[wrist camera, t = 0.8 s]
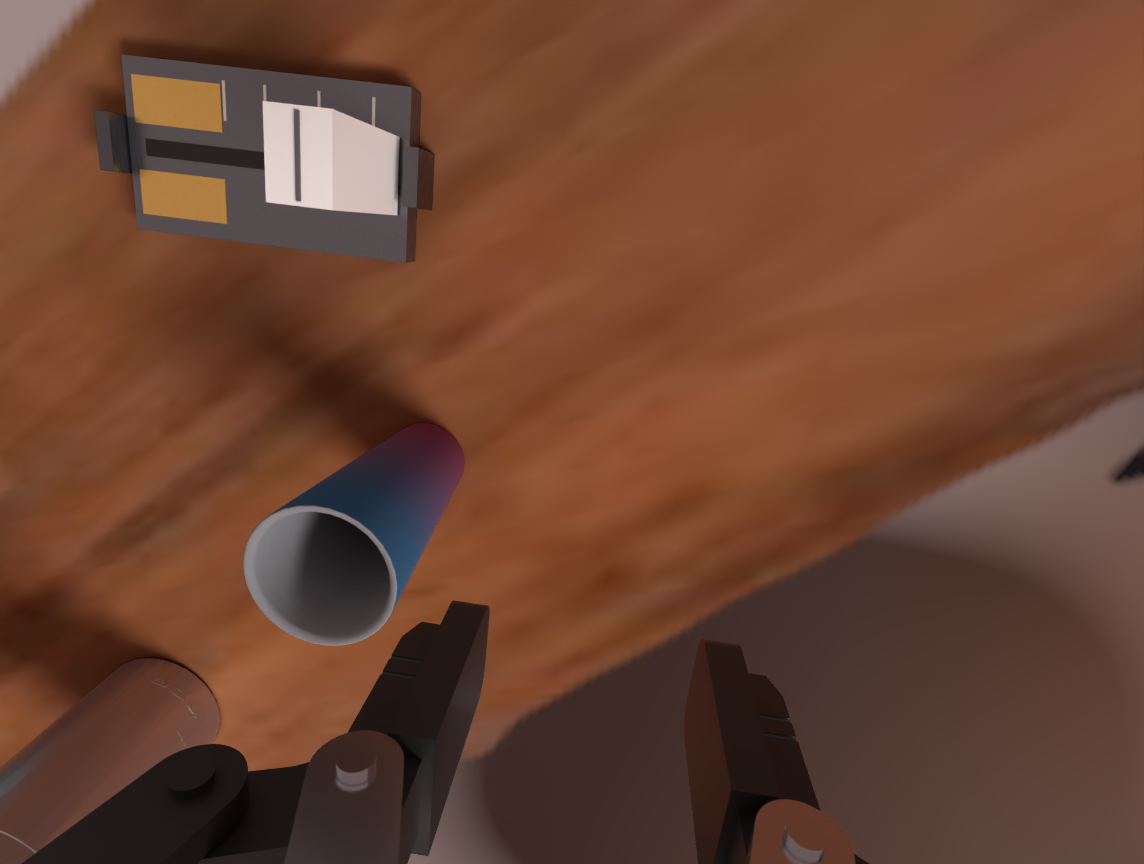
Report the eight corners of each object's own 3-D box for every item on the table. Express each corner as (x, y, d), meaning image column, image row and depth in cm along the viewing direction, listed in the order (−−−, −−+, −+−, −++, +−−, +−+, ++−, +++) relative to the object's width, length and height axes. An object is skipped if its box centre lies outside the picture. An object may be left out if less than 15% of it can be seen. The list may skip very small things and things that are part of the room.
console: (437, 95, 35) (421, 83, 32) (429, 263, 37) (414, 265, 35) (127, 60, 36) (87, 46, 33) (142, 227, 38) (106, 226, 36)
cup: (362, 480, 42) (224, 606, 28) (397, 391, 40) (267, 478, 26) (455, 523, 42) (366, 670, 28) (494, 437, 40) (420, 548, 26)
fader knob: (399, 137, 34) (331, 108, 26) (397, 215, 35) (331, 210, 27) (345, 130, 34) (261, 100, 26) (344, 208, 35) (264, 202, 27)
